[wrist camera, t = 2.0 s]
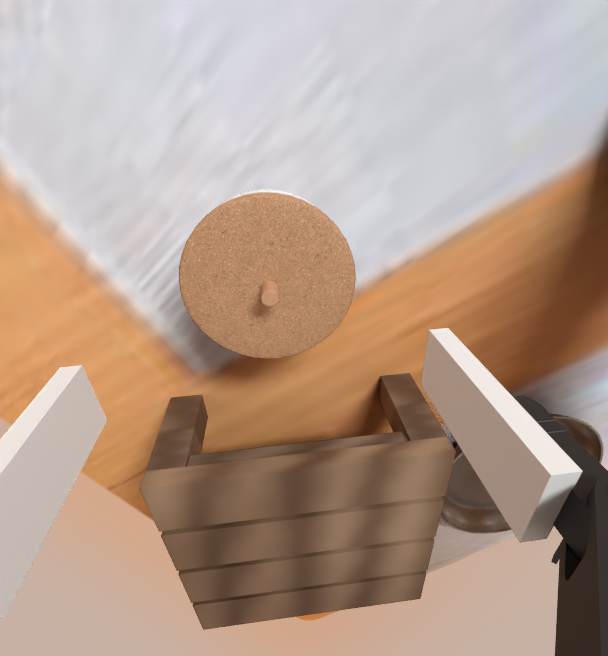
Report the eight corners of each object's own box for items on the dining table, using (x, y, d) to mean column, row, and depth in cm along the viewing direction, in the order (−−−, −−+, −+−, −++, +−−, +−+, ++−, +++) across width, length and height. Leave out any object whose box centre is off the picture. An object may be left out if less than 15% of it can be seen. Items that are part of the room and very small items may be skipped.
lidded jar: (352, 198, 27) (390, 229, 19) (314, 319, 32) (331, 385, 23) (209, 158, 24) (181, 173, 16) (192, 295, 29) (164, 359, 21)
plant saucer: (529, 369, 37) (551, 389, 35) (611, 444, 45) (634, 465, 42) (391, 477, 44) (400, 501, 41) (483, 526, 52) (496, 549, 49)
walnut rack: (409, 373, 36) (455, 451, 27) (392, 513, 48) (420, 598, 39) (171, 397, 34) (139, 488, 26) (214, 536, 46) (203, 629, 38)
